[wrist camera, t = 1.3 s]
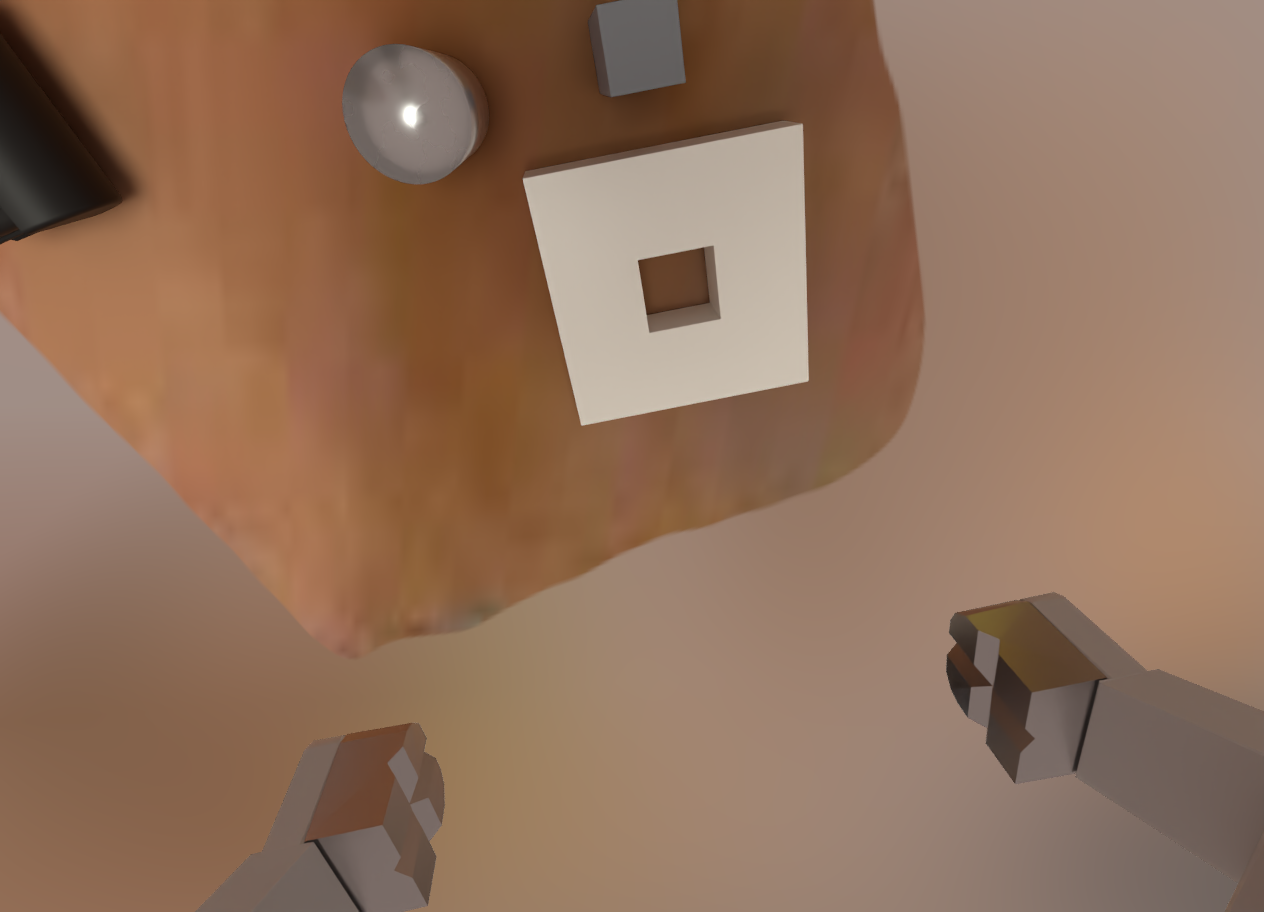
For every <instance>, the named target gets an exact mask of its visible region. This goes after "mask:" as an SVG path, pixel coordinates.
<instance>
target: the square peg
mask: <svg viewBox="0 0 1264 912" xmlns="http://www.w3.org/2000/svg"><path fill="white" fill-rule="evenodd" d="M588 26H589V32H590V38H591V44H592V50H593V56H594V62H595V68H596V73H597V79H598V85H599V91H600V94H602V95H606V96H609V97H615V96H620V95H625V94H630V93H635V92H640V91H645V90H651V89H656V88H661V87H666V86H671V85H676V84H681V83H686V80H685V70H684V61H683V51H682V42H681V32H680V23H679V13H678V4H677V0H620V1H615V2H610V3H605V4H600V5H596V7H595V9H594V11H593V13H592V15H591V17H590V18H589V20H588Z"/></svg>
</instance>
